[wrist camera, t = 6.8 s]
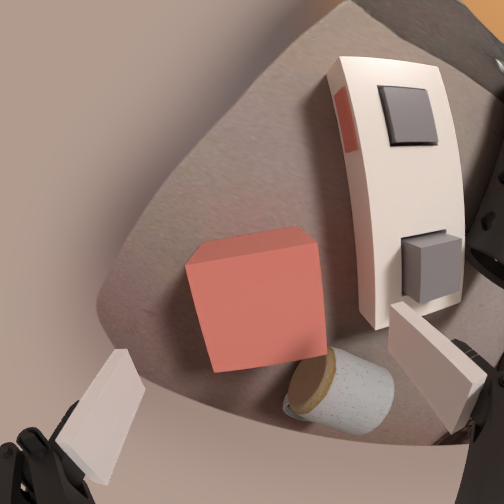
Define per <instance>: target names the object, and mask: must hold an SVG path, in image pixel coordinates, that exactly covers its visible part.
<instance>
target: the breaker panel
mask: <svg viewBox="0 0 504 504" xmlns="http://www.w3.org/2000/svg"><path fill="white" fill-rule="evenodd" d="M326 76H327V80H328V84H329V88H330V92H331V96H332V100H333V105H334V109H335V114H336V118H337V123H338V128H339V133H340V138H341V143H342V148H343V154H344V160H345V166H346V172H347V179H348V185H349V193H350V200H351V208H352V217H353V226H354V236H355V247H356V260H357V275H358V297H359V312H360V313H361V314H362V315H363V316H364V318H365V319H366V320H367V321H368V322H369V323H370V325H371V326H372V327H373V328H374V329H375V330H378V329H381V328H385V327H388V326H389V315H390V305H391V304H395V303H398V302H402V301H403V302H404V303H405V304H407V305H408V306H409V307H410V308H412V309H413V310H414V311H415V312H417V313H418V314H419V315H420V316H424V315H426V314H429V313H432V312H435V311H438V310H441V309H444V308H446V307H449V306H452V305H454V304H457V303H460V302H461V297H462V287H463V275H464V257H465V213H464V195H463V183H462V174H461V166H460V158H459V151H458V145H457V140H456V134H455V129H454V124H453V119H452V115H451V111H450V107H449V103H448V99H447V95H446V91H445V88H444V85H443V81H442V78H441V75H440V72H439V69H438V67H436V66H430V65H425V64H419V63H413V62H406V61H398V60H390V59H380V58H367V57H345V56H339V58H338V59H337V60H336V62H335V63H334V64H333V66H332V67H331V68H330V70H329V71H328V72H327V74H326ZM383 87H394V88H407V89H418V90H426V91H427V93H428V96H429V100H430V104H431V108H432V112H433V117H434V121H435V126H436V131H437V136H438V141H439V142H433V143H428V144H422V145H417V146H396V147H390V142H389V137H388V131H387V127H386V122H385V117H384V113H383V108H382V104H381V100H380V96H379V92H378V90H380V89H381V88H383ZM433 231H439V232H443V233H446V234H449V235H453V236H456V237H459V238H462V262H461V278H460V290H459V291H458V292H455V293H452V294H449V295H446V296H443V297H441V298H438V299H435V300H431V301H428V302H425V303H422V304H419V303H417V302H416V301H415V300H413V299H412V298H411V297H409V296H408V295H407V294H405V293H404V292H403V291H402V260H401V238H403V237H408V236H413V235H418V234H423V233H428V232H433Z"/></svg>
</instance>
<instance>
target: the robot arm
mask: <svg viewBox="0 0 504 504" xmlns="http://www.w3.org/2000/svg"><path fill="white" fill-rule="evenodd" d="M387 351H388V352H389V353H390V354H391V356H392V357H393V358H394V359H395V361H396V362H397V363H398V365H399V366H400V367H401V368H402V370H403V371H404V372H405V373H406V375H407V376H408V377H409V379H410V380H411V381H412V383H413V384H414V385H415V386H416V388H417V389H418V390H419V392H420V393H421V394H422V396H423V397H424V398H425V400H426V401H427V402H428V404H429V405H430V406H431V408H432V409H433V410H434V412H435V413H436V415H437V416H438V417H439V419H440V420H441V421H442V423H443V424H444V426H445V427H446V428H447V430H448V431H449V433H450V434H451V435H452V434H453V433H455V432H457V431H459V430H460V429H462V428H464V427H465V426H466V424H467V422H468V420H469V418H470V416H471V418H472V419H473V420H474V423H473V425H472V427H471V429H470V431H469V433H468V435H467V437H466V439H468V438H469V436H470V435H471V438H470V444H469V450H468V454H467V460H466V464H465V468H464V472H463V476H462V480H461V484H460V488H459V491H458V494H457V498H456V501H455V504H504V355H503V357H502V360H501V362H500V364H499V367H498V370H496V369H495V368H494V367H492V366H491V365H490V364H489V363H488V362H487V361H486V360H485V359H483V358H482V357H481V356H480V355H478V353H476V352H475V351H474V350H472V348H471V347H469V346H468V345H467V344H466V343H464V342H462V341H459V340H457V339H454V340H451V341H450V340H448V339H447V338H446V337H445V336H444V335H443V334H442V333H440V332H439V331H438V330H437V329H436V328H434V327H433V326H432V325H431V324H430V323H429V322H427V321H426V320H425V319H424V318H423V317H421V316H420V315H419V314H418V313H417V312H415V311H414V310H413V309H412V308H410V307H409V306H408V305H407V304H405V303H404V302H403V301H402V302H398V303H395V304H391V305H390V315H389V334H388V348H387ZM144 392H145V388H144V386H143V384H142V382H141V379H140V377H139V375H138V373H137V371H136V369H135V366H134V364H133V362H132V360H131V357H130V355H129V353H128V350H127V349H115V350H114V351H113V352H112V354H111V355H110V357H109V358H108V360H107V361H106V363H105V364H104V365H103V367H102V368H101V370H100V371H99V373H98V374H97V376H96V377H95V379H94V380H93V382H92V383H91V385H90V386H89V388H88V389H87V391H86V392H85V394H84V395H83V397H82V398H81V400H80V401H79V400H78V401H77V402H75V403H74V404H73V405H72V406H71V407H70V408H69V409H68V411H67V412H66V414H65V416H64V417H63V418H62V420H61V421H62V422H60V423H59V425H58V426H57V428H56V429H55V431H54V433H53V434H52V436H51V437H50V439H49V441H47V439H46V438H45V437H44V436H43V434H42V433H41V432H40V431H39V429H37V428H35V427H30V428H26V429H24V430H23V431H22V432H21V433H20V434H19V435H18V437H17V440H16V442H17V444H18V445H19V446H20V447H21V448H22V449H23V451H20V450H19V448H18V447H17V446H16V445H15V444H14V443H12V442H8V443H4V444H2V445H1V447H0V504H95V502H94V500H93V497H92V495H91V493H90V490H89V488H88V486H87V484H86V482H85V481H84V480H83V478H84V476H85V475H86V476H87V477H88V478H89V479H90V480H91V481H92V482H95V483H99V484H104V485H108V483H109V480H110V477H111V475H112V472H113V469H114V467H115V464H116V461H117V459H118V456H119V454H120V451H121V448H122V446H123V443H124V441H125V438H126V436H127V433H128V431H129V428H130V426H131V423H132V421H133V418H134V416H135V413H136V411H137V409H138V406H139V404H140V401H141V399H142V397H143V394H144ZM21 483H22V484H23V485H24V486H25V487H26V490H25V491H23V490H22V489H21Z"/></svg>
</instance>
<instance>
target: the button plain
mask: <svg viewBox="0 0 504 504" xmlns="http://www.w3.org/2000/svg"><path fill="white" fill-rule="evenodd" d="M401 260H402V291H403V292H404V293H405V294H407V295H408V296H409V297H411V298H412V299H413V300H415V301H416V302H417V303H419V304H422V303H425V302H428V301H431V300H435V299H438V298H441V297H443V296H446V295H449V294H452V293H455V292H458V291H459V290H460V278H461V262H462V238H459V237H456V236H453V235H449V234H446V233H443V232H439V231H433V232H428V233H423V234H418V235H413V236H408V237H403V238H401Z"/></svg>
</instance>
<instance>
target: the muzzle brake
mask: <svg viewBox="0 0 504 504" xmlns="http://www.w3.org/2000/svg"><path fill="white" fill-rule="evenodd" d="M465 258H466V259H467V260H468V261H469V262H470V264H471V265H472V266H473V267H474V268H475V269H477V270H478V271H479V272H480V273H481V274H482V275H484V276H485V277H486V278H488V279H489V280H490V281H492V282H493V283H495V284H496V285H498V286H499V287H501V288H503V289H504V138H503V141H502V146H501V150H500V153H499V155H498V158H497V162H496V165H495V168H494V171H493V174H492V177H491V180H490V183H489V186H488V188H487V190H486V193H485V195H484V198H483V200H482V202H481V205H480V207H479V210H478V212H477V214H476V218H475V220H474V222H473V224H472V226H471V228H470V230H469V232H468V234H467V236H466V238H465ZM495 259H496V260H497V261H495Z"/></svg>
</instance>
